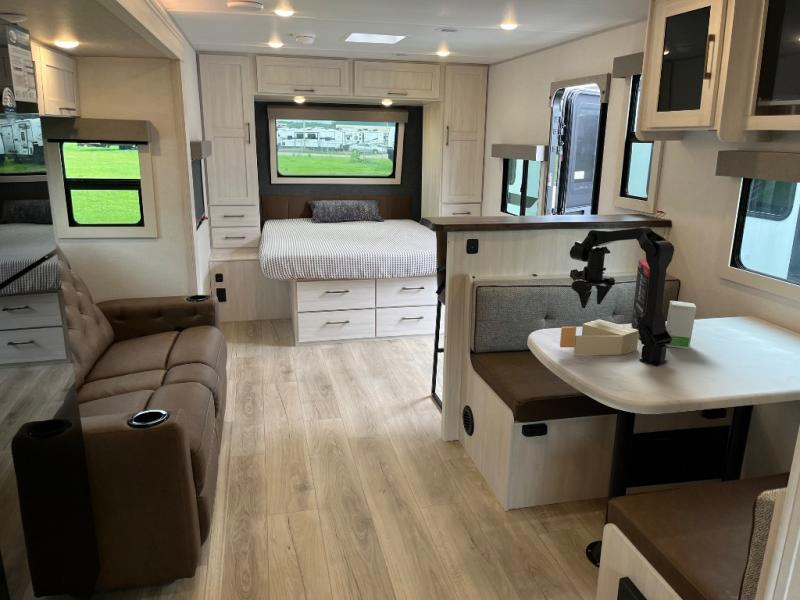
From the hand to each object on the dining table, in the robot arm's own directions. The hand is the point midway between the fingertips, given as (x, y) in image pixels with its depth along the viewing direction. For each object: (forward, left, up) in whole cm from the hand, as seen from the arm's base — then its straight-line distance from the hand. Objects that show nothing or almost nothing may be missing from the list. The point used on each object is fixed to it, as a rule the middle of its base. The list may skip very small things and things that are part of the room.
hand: (591, 306), depth 216 cm
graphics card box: (-10, -21, -12) cm, 26 cm away
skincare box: (-24, -19, -12) cm, 33 cm away
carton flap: (-12, +16, -12) cm, 23 cm away
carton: (-10, +2, -12) cm, 16 cm away
